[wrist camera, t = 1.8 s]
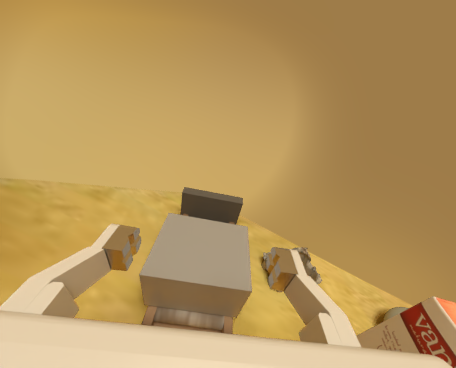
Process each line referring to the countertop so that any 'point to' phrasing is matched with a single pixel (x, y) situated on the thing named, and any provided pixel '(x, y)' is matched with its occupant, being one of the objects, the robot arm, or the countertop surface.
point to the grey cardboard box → (198, 267)
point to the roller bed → (210, 210)
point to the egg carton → (306, 261)
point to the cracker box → (418, 331)
